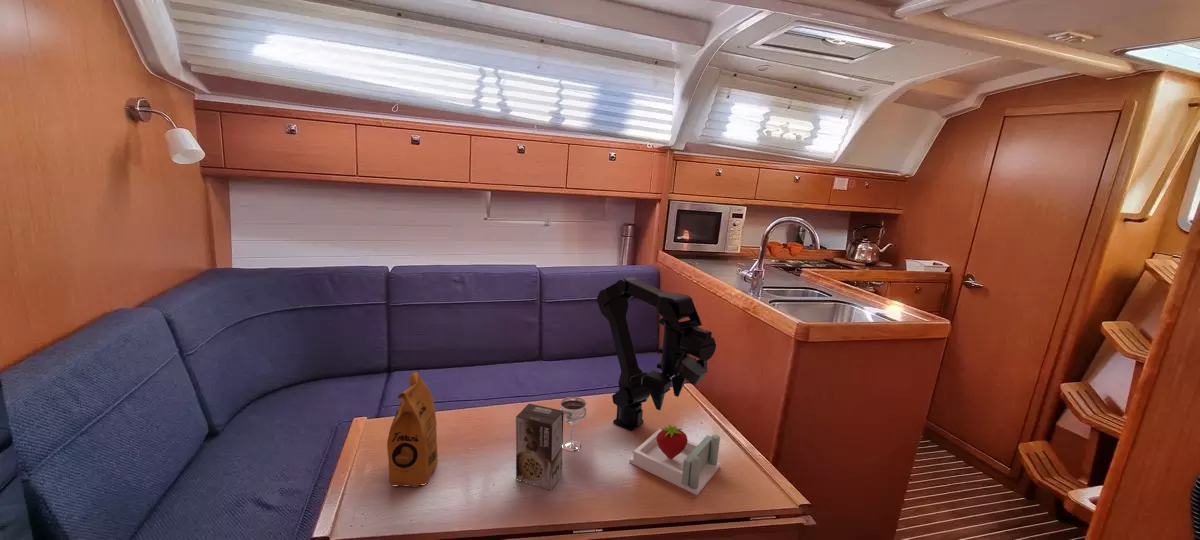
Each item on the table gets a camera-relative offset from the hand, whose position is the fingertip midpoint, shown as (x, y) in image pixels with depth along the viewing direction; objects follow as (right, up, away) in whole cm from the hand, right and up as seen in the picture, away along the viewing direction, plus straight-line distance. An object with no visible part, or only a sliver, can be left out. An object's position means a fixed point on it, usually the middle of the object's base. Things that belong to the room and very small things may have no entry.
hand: (667, 402), depth 114 cm
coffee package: (-60, -13, -11) cm, 62 cm away
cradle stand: (+1, -14, -4) cm, 15 cm away
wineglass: (-24, -12, +1) cm, 27 cm away
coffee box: (-31, -14, -11) cm, 36 cm away
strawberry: (0, -13, -4) cm, 13 cm away
